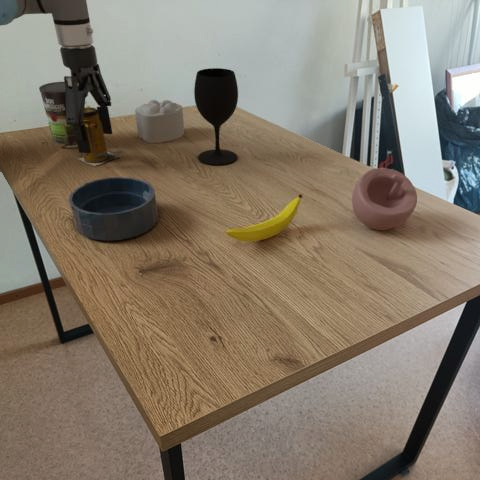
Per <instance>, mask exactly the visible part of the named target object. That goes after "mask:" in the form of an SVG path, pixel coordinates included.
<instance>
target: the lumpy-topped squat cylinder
mask: <svg viewBox="0 0 480 480" xmlns="http://www.w3.org/2000/svg"><path fill="white" fill-rule="evenodd" d="M134 114H135V121H136V130H137V136H138V138H139V139H142V140H144V141H145V142H146V143H148V144H161V143H167V142H170V141H171V142H172V141H174V140H178V139H180V138H182V137H183V136H184V135H185V125H184V124H185V123H184V110H183V105H181V104H179V103H176V102H173V101H171V100H168V99H165V100H162V101H160V102H159V101H158V100H156V99H151V100H149V101H148V102H147V103H144V104H141V105H140V106H138V107H136V108H135V109H134Z"/></svg>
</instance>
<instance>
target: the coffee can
mask: <svg viewBox="0 0 480 480" xmlns="http://www.w3.org/2000/svg"><path fill="white" fill-rule="evenodd" d="M38 90H39V93H40V95H41V100H42V103H43V107H44V111H45V114H46V119H47V123H48V126H49V130H50V134H51V139H52V141H53V142H54V143H57V144H61V145H62V144H63V146H61V149H77V148H78V144H77V140H76V136H75V132H74V127H73V125H67V123H66V88H65V82H64V81H54V82H47V83H45V84H44V83H43V84H42V85H40V86H39V88H38Z"/></svg>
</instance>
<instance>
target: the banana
mask: <svg viewBox="0 0 480 480" xmlns="http://www.w3.org/2000/svg"><path fill="white" fill-rule="evenodd" d="M302 198H303V194H301V193H300V194H298V196H297V197H295V198H294V199H293V200H291V201H290V202H289V203H288V204H287V205H286V206H285V207H284V208H283V209H282V210H281V211H280V212H279V213H278V214H277V215H276V216H273V217H272V218H270V219H268V220H265V221H263V222H260V223H256V224H252V225H249V226H245V227H241V228H231V229H227V230H225V231H224V234H226V235H227V236H228V237H230V238H231V239H233V240H237V241H239V242H240V241H241V242H256V241H262V240H267V239H269V238H273V237H274V236H276V235H278V234H280V233H281V232H282V231H284V230H285V229H286V228H287V227H288V226H289V225H290V223H291V222H292V221H293V219H294V218H295V216H296V214H297V212H298V210H299V207H300V203H301V199H302Z"/></svg>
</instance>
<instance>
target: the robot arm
mask: <svg viewBox="0 0 480 480" xmlns="http://www.w3.org/2000/svg"><path fill="white" fill-rule="evenodd" d="M43 14H44V15H47V14H48V15H49V14H51V16H52V20H53V24H54V30H55V34H56V39H57V44H58V45H60V46H61V47H60V49H59V52H60V56H61V61H62V64H63V66H64V67H65V68H68V69H69V70H70V76H69V75H64V76H63V82H65V88H66V123H67V125H73V127H74V132H75V136H76V140H77V144H78V147H77V148H78V153H79V154H83V153H91V149H90V144H89V139H88V135H87V130H86V125H85V124H83V118H84V108H86V98H87V97H88V96H89V94H90V95H91V97H92V98H93V99H94V101H95V102H96V104H97V106H96V109H97V111H98V115H99V120H100V121H101V123H102V127H103V133H104V135H112V134H113V128H112V123H111V117H110V111H109V107H112V101H111V100H112V98H111V94H110V93H109V90H108V88H107V85H106V83H105V80H104V78H103V75H102V72H101V68H100V64H99V63H98V57H97V51H96V48H95V47H96V46H94V45H93V43H94V42H95V41H94V36H93V34H94V29H93V28H92V27H91V20H90V13H89V9H88V3H87V0H0V26H6V25H9V24H11V23H12V22H13V21H14V20H16V19H18V18H20V17H23V16H25V15H43Z"/></svg>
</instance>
